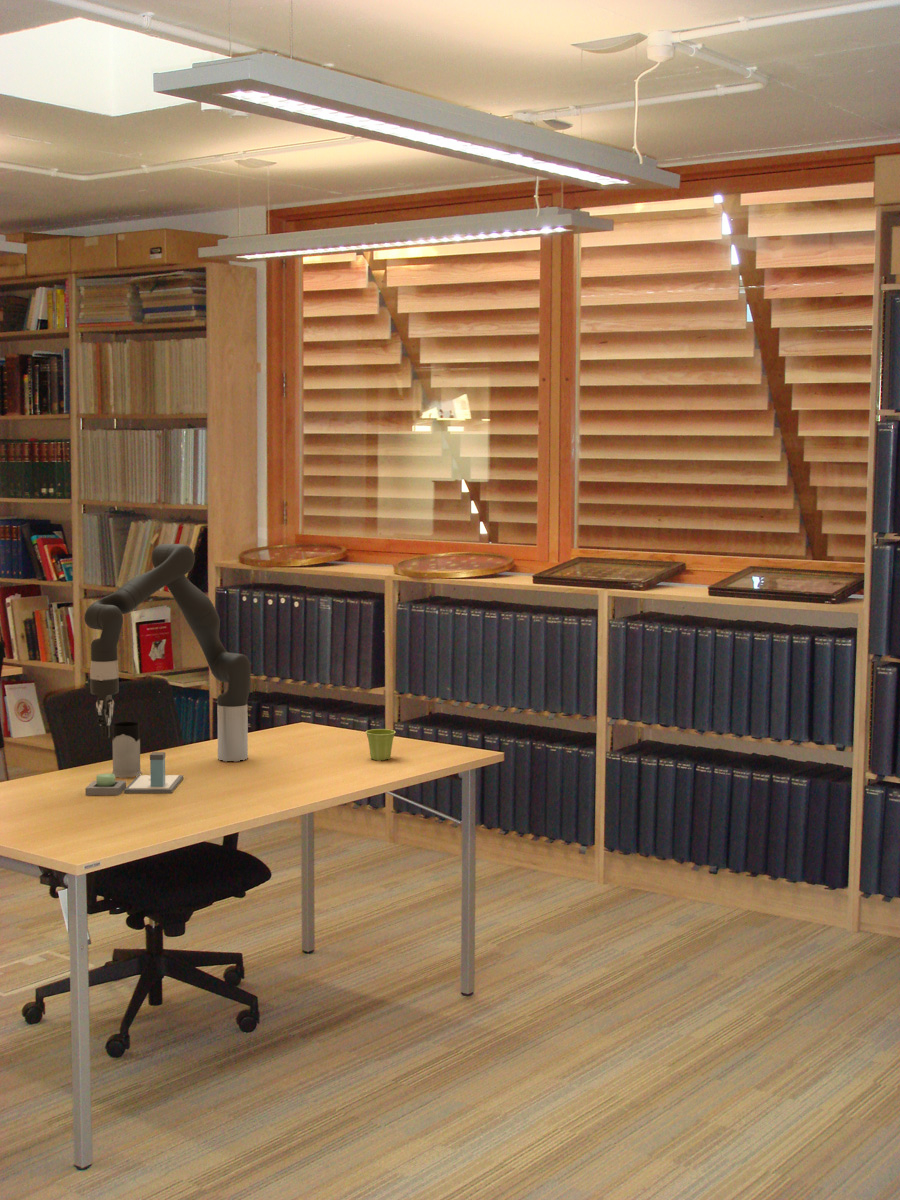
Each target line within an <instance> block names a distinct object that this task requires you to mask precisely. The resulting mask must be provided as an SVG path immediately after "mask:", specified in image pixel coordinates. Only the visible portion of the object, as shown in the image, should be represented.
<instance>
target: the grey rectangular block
mask: <svg viewBox="0 0 900 1200" xmlns="http://www.w3.org/2000/svg"><path fill="white" fill-rule="evenodd" d="M149 762H150V763H149V764H150V765H149V766H150V773H149V775H151V787H163V786H164V785H165V775H166V752H164V751H163V752H161V751H160V752H158V751H156V752H155V751H151V753H150V754H149Z"/></svg>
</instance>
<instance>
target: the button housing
mask: <svg viewBox="0 0 900 1200" xmlns="http://www.w3.org/2000/svg"><path fill="white" fill-rule="evenodd" d="M126 787H127V781H126V780H115V785H112V786H97V783H96V780H93V781H91V782H90V783H89V784H88V785H87V786H85V794H84V795H85V796H119V795H120V794H121V793H123V792H124V789H125V788H126Z"/></svg>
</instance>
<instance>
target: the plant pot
mask: <svg viewBox="0 0 900 1200" xmlns="http://www.w3.org/2000/svg"><path fill="white" fill-rule="evenodd" d="M365 734H366V737H367V739H368V746H369V752H370V753H369V754H370V755H369V756H370V760H374V761H381V760H382V761H385V760H387V759H389V760H391V755H392V749H393V741H394V738H395V734H396V731H395V730H394V729H393V730H392V729H388V728H375V729H367V730H366V731H365Z"/></svg>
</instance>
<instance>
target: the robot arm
mask: <svg viewBox="0 0 900 1200" xmlns="http://www.w3.org/2000/svg"><path fill="white" fill-rule="evenodd" d="M195 562H196V559H195V553H194V550H192V548H191V547H190V546H188V545H186V544H184V543H183V544H182V543H163V544H159V545H156V546H155V547H154V548H153V549H152V553H151V563H152V566H153V569H151V570H148V571H146V572H144V573H142V574H140V575H137V576H135V577H133V578H132V579H130V580H128V581H126V582H125V583H124V584H123V585H121V586H120V587H118V588H117V590H115V591H114V592H113V593H111V594H108V595H106V596H104V597H102V598H100V599H99V600H96V601H94V602H93V603H92V604H90V605H89V606H88V608H87V609H86V610H85V613H84V622H85V624H86V625H87V627H89V628H90V629H93V630H97V631H99V630H101V634H100V636H99V638H95V639H93V640H92V641H91V644H90V668H89V669H90V670H89V676H90V677H89V679H90V680H89V681H90V682H89V683H90V684H89V685H90V686H89V687H90V694H91V695H94V696H97V700H96V702H95V706H96V707H95V709H94V714H95V717H96V721H97V722H96V723H97V725H99V726H100V739H101V740H109V739H110V737H111V732H110V731H111V730H110V729H111V724H112V721H113V717H114V715H113V714H114V710H115V701H114V699H113V695H116V694H118V693H119V692H120V689H119V688H120V687H119V683H120V681H119V680H120V679H119V662H118V644H119V640H120V636H121V631H122V628H123V623H124V618H123V615H125V614H129V613H131V612H132V611H133V610H134V609H136V608H137V607H138V606H140V604H142V603H143V602H144V601H146V600H147V599H148V598H149V597H150V596H152V595H154V594H155V593H156V592H157V591H159V590H161V589H162V588H163V587H165V586H166V587H167V589H168V591H169V592H170V593H171V595H172V597H173V598H174V601H175V602H176V604H177V605H178V607H179V609H180V611H181V613H182V615H183V616H184V619H185V620H186V622H187V624H188V626H189V629H191V631H192V633H193V634H194V636H195V639H196V640H197V642H198V644H199V646H200V648H201V650H202V652H203V654H204V657H205V660H206V662H207V664H208V665H207V666H208V667H209V669H210V671H211V672H210V673H212V675H213V678H215V679H216V680H218V681H219V682H223V683H227V684H228V685H227V686H228V687H227V691H225V692H223V693H221V694H219V695H217V703H216V705H217V706H216V708H217V712H216V713H217V760H218V759H219V760H218V761H220V760H223V761H222V762H227V761H234V762H241V761H240V760H243V761H246V760H248V759H249V755H248V753H249V748H248V745H249V744H248V741H249V739H248V738H249V736H248V735H249V734H248V733H249V729H248V726H249V725H248V724H249V721H248V720H249V719H248V716H249V715H248V699H249V697H250V696H249V695H250V693H251V674H252V673H251V672H252V669H251V662H250V659H249V658H248V656H247V655H246V654H242V653H236V652H228V650H227V649H226V648H225V647H224V645H223V643H222V641H221V639H220V627H221V619H220V616H219V614H218V612H217V609H216V608H215V606H214V604H213V602H212V600H211V599H210V598H209V597H208V595H206V594H205V593H204V592H203V591H202V590H201V589H200V588H199V587H197V586H196V585H194V583H192V581H190V580H189V578H188V577H187V574H189V572H190V571H192V569H193V567H194V565H195ZM247 758H248V759H247ZM245 759H246V760H245Z"/></svg>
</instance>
